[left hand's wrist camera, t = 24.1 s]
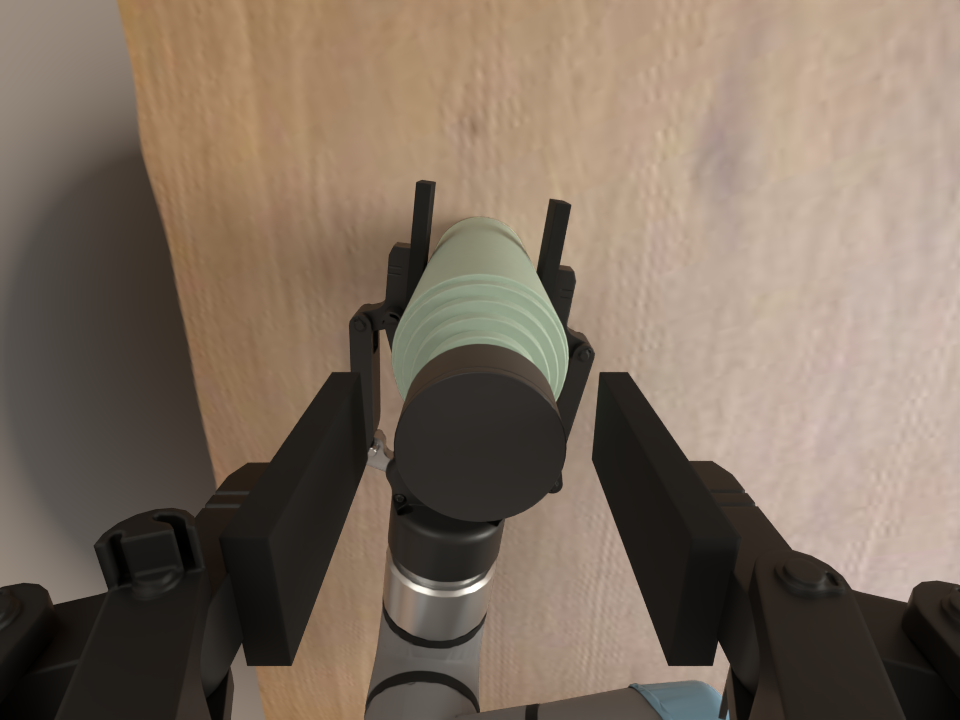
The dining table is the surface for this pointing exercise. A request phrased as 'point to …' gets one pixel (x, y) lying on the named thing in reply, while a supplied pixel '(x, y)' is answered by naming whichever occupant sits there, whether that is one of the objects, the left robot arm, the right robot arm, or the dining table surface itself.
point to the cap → (480, 434)
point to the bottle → (480, 304)
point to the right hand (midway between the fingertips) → (493, 192)
